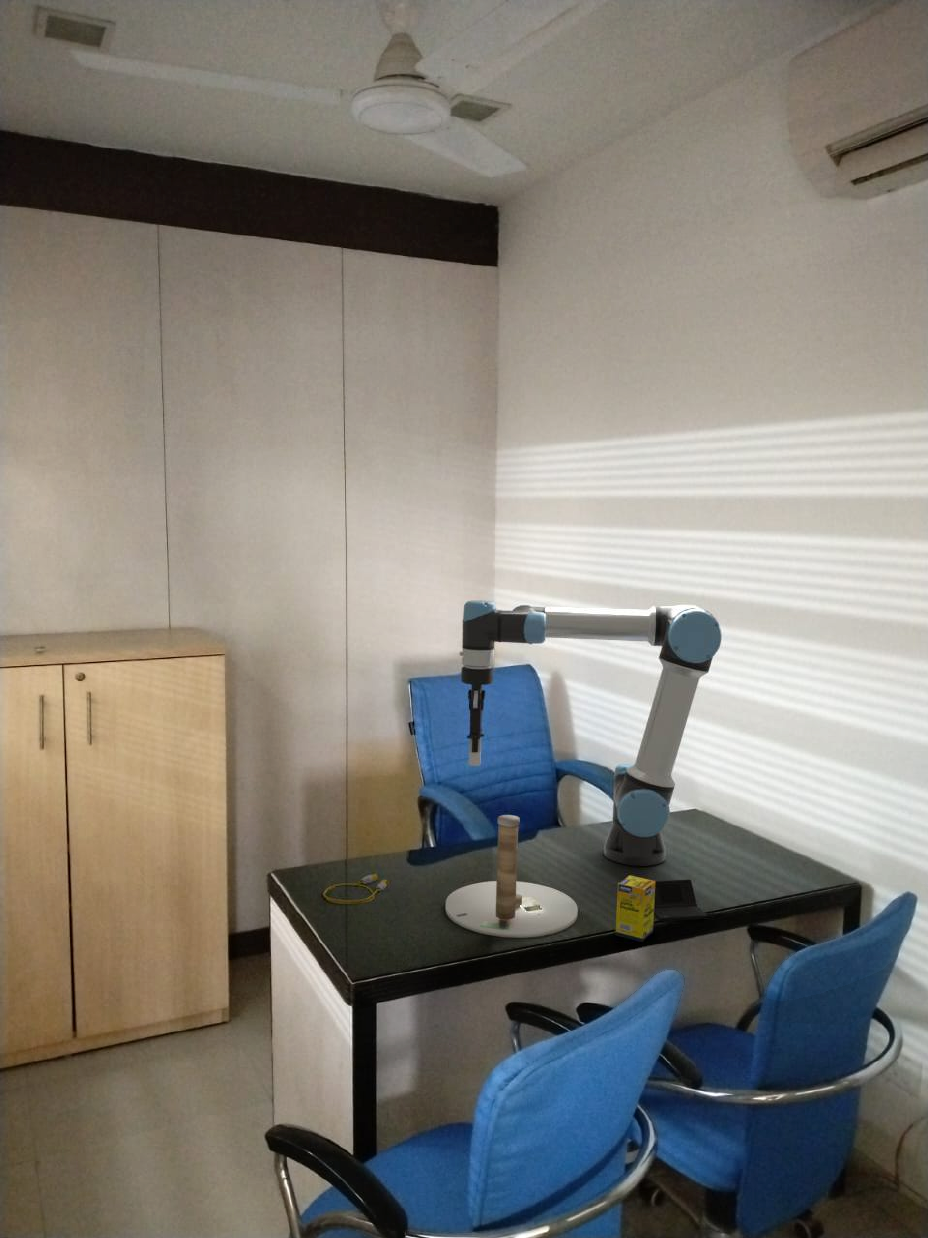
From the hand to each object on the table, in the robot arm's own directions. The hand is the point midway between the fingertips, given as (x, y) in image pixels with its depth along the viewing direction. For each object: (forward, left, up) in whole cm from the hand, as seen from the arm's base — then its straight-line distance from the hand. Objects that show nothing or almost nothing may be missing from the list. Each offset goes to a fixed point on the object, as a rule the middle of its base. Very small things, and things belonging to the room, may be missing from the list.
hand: (474, 764), depth 238 cm
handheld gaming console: (-45, +23, -25) cm, 56 cm away
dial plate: (-10, +27, -24) cm, 38 cm away
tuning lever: (-9, +33, -23) cm, 41 cm away
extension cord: (+24, +22, -25) cm, 41 cm away
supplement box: (-35, +36, -25) cm, 56 cm away
